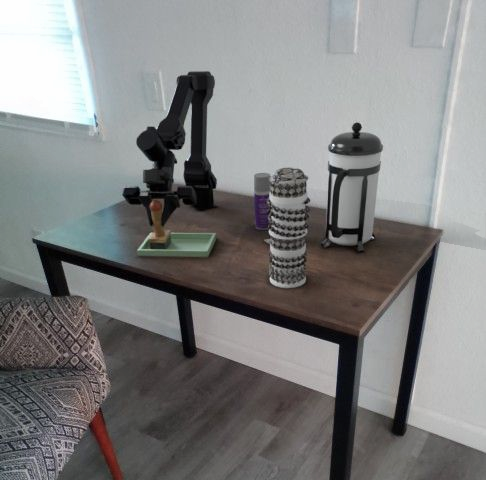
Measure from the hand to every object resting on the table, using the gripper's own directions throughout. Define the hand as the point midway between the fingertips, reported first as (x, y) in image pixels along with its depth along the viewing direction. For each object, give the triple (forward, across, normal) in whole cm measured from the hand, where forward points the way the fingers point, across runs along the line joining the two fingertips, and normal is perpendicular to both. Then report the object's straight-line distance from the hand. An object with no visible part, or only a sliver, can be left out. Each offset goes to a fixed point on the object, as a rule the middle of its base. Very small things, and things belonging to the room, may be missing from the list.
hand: (156, 225), depth 127 cm
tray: (+4, +5, +6) cm, 8 cm away
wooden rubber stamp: (+4, 0, +6) cm, 7 cm away
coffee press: (+1, +50, +9) cm, 50 cm away
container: (-7, +26, +17) cm, 32 cm away
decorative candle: (+16, +35, -6) cm, 39 cm away
